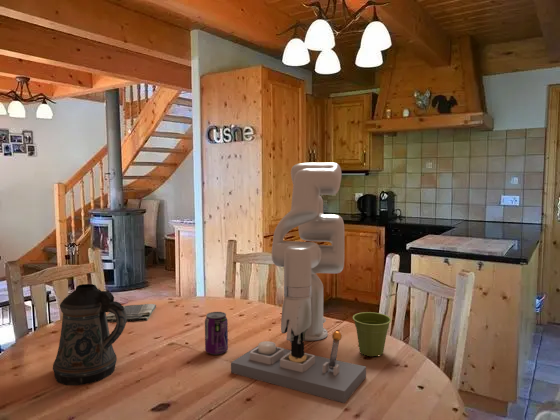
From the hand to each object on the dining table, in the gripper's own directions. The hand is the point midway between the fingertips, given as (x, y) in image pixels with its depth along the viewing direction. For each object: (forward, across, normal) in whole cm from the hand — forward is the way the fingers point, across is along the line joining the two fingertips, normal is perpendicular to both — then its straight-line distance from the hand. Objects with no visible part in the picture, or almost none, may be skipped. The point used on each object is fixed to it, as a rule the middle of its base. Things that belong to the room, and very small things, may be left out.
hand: (297, 355), depth 121 cm
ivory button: (+1, 0, -10) cm, 10 cm away
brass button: (+2, 0, 0) cm, 2 cm away
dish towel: (+6, -15, -84) cm, 86 cm away
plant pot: (+6, -25, +13) cm, 29 cm away
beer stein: (+6, +27, -52) cm, 59 cm away
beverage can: (+6, -2, -30) cm, 31 cm away
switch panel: (+6, 0, 0) cm, 6 cm away
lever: (+3, 0, +10) cm, 10 cm away
